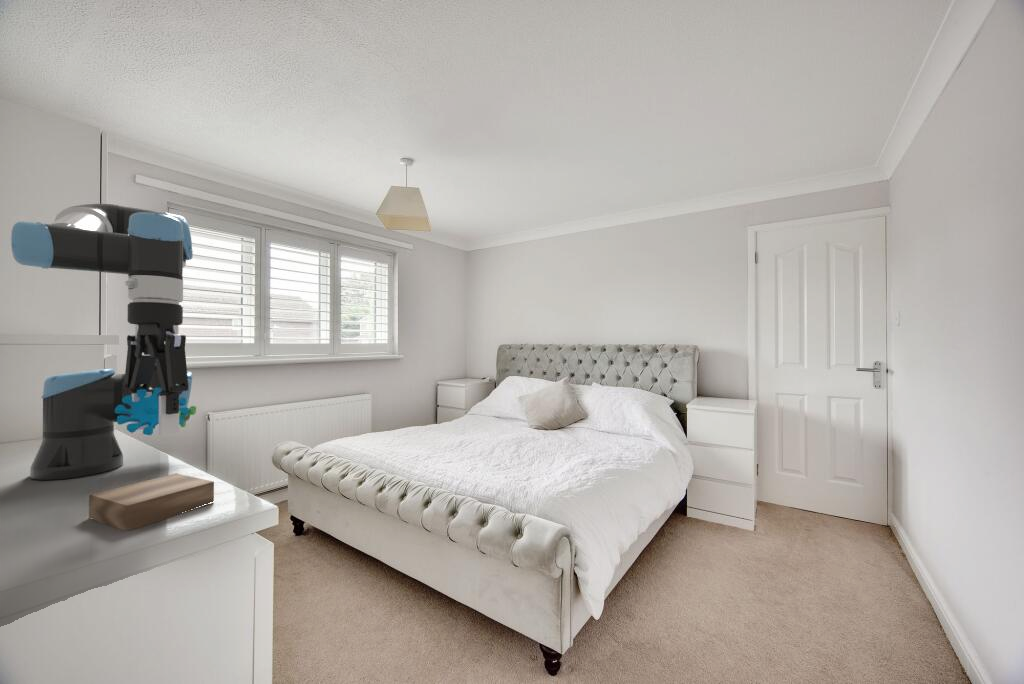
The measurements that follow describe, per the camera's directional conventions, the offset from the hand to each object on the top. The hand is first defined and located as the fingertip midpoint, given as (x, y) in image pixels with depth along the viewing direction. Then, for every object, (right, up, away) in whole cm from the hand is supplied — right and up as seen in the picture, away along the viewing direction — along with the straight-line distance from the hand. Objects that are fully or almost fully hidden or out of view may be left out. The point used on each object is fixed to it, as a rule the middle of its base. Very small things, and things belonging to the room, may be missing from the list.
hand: (154, 430), depth 75 cm
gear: (0, 0, 0) cm, 1 cm away
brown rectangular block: (0, -14, 0) cm, 14 cm away
